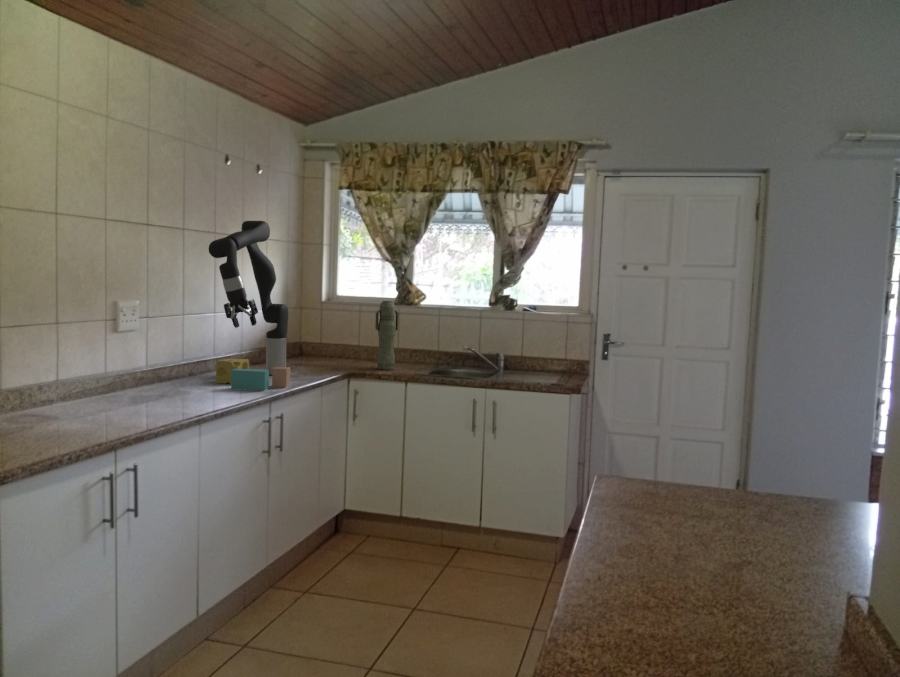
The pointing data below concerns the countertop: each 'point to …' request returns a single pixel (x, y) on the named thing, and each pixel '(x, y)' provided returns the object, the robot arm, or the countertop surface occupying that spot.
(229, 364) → the cheese
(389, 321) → the thermos
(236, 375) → the teal brick
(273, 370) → the terracotta block
